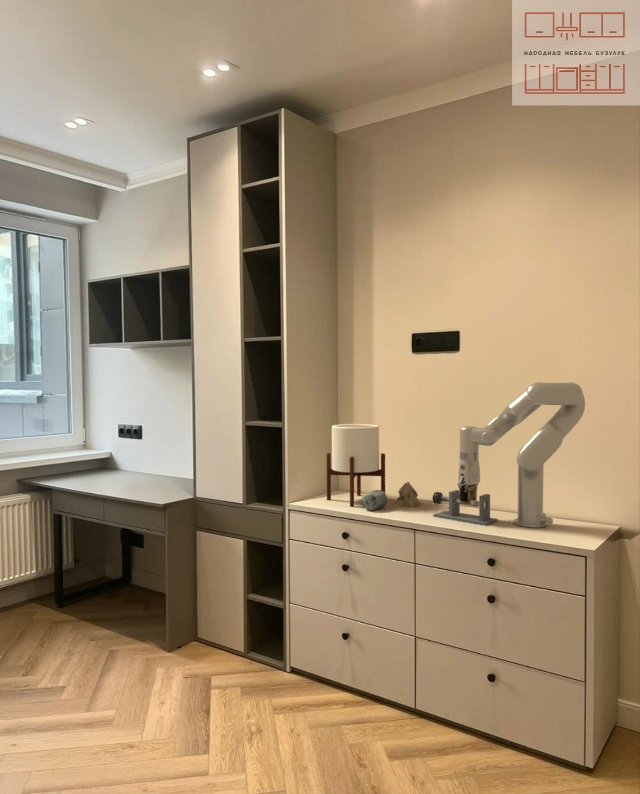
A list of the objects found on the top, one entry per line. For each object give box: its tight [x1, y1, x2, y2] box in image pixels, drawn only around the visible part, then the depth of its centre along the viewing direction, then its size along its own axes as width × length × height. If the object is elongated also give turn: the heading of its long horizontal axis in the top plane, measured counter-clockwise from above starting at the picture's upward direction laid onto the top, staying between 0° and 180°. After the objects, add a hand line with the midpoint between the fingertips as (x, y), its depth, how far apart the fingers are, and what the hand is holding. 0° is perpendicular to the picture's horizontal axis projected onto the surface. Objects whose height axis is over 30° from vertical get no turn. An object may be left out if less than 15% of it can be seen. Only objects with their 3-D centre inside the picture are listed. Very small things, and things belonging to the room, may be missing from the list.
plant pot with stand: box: [326, 423, 386, 508], centre depth 294 cm, size 22×22×36 cm
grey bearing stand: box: [432, 489, 498, 527], centre depth 255 cm, size 24×10×11 cm, turn 47°
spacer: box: [460, 485, 478, 504], centre depth 254 cm, size 4×7×7 cm, turn 137°
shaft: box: [432, 491, 479, 508], centre depth 258 cm, size 20×5×5 cm, turn 47°
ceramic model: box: [395, 481, 420, 507], centre depth 288 cm, size 14×11×10 cm
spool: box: [361, 489, 388, 512], centre depth 276 cm, size 14×10×10 cm
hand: (468, 499), depth 254 cm, fingers closed on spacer, 6 cm apart
